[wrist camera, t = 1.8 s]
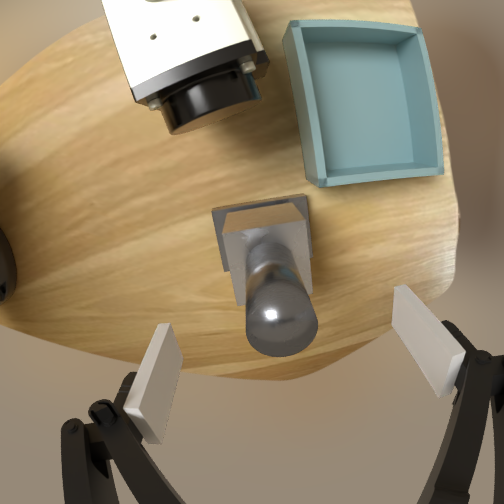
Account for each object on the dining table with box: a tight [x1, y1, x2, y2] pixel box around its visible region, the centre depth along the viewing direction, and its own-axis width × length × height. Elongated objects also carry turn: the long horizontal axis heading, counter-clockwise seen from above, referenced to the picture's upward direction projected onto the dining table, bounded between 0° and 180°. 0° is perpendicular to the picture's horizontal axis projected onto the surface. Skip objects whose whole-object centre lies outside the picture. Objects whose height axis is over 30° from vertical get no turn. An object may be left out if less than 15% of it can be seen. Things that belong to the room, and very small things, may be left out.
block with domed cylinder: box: [222, 202, 318, 357], centre depth 24 cm, size 7×7×16 cm
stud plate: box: [211, 193, 313, 272], centre depth 30 cm, size 10×7×9 cm
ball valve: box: [101, 0, 269, 135], centre depth 18 cm, size 18×8×18 cm, turn 20°
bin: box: [282, 20, 444, 188], centre depth 26 cm, size 14×16×6 cm
